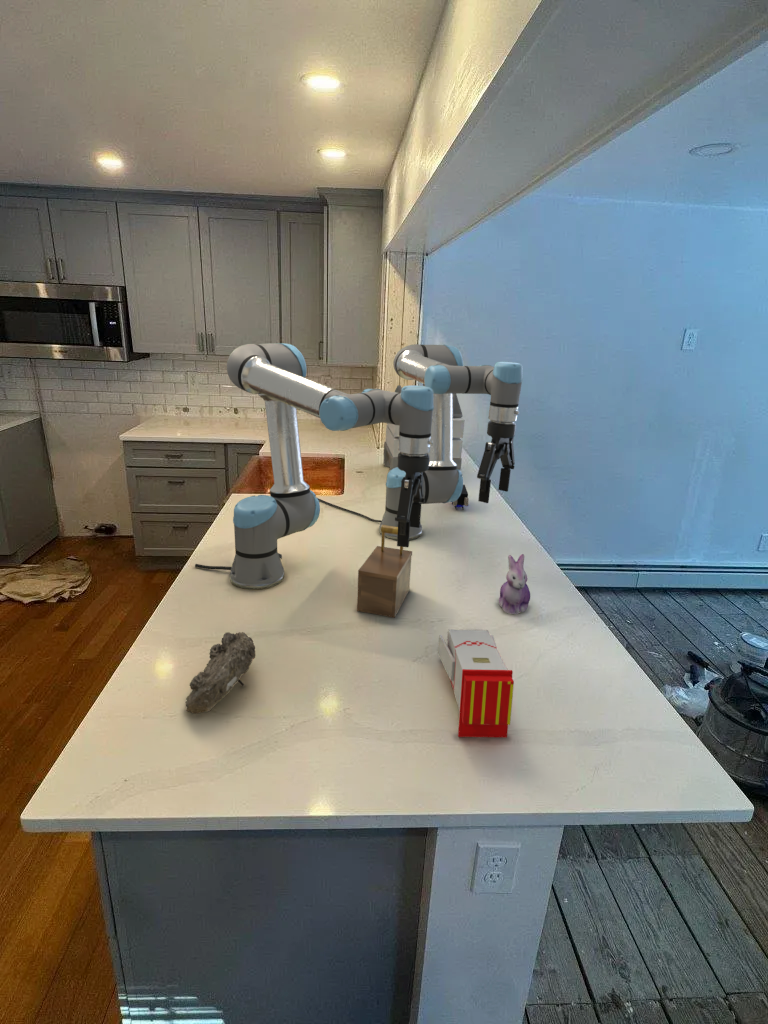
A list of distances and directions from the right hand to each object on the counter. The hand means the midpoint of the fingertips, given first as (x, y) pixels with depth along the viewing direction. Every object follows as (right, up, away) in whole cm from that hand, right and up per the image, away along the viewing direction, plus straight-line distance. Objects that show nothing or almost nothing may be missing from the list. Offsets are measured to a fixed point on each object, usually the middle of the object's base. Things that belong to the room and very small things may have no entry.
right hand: (493, 496), depth 160 cm
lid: (-30, -19, -9) cm, 37 cm away
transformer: (-14, +14, +115) cm, 116 cm away
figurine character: (-1, -2, +71) cm, 71 cm away
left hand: (-25, -11, -19) cm, 33 cm away
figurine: (+4, -30, -7) cm, 31 cm away
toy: (-13, -42, -42) cm, 61 cm away
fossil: (-64, -40, -43) cm, 87 cm away
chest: (-31, -29, -6) cm, 43 cm away
